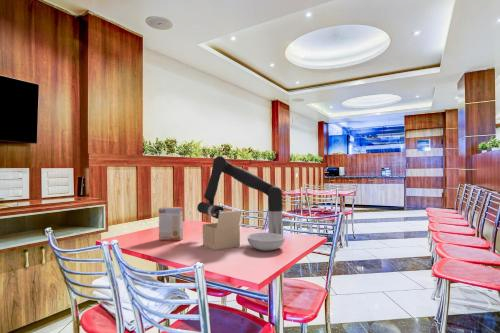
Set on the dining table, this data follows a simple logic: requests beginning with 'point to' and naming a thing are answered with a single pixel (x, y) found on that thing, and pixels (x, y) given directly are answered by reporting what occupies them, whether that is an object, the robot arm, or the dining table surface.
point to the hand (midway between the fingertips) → (229, 215)
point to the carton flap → (229, 219)
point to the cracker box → (170, 223)
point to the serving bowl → (266, 241)
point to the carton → (220, 237)
